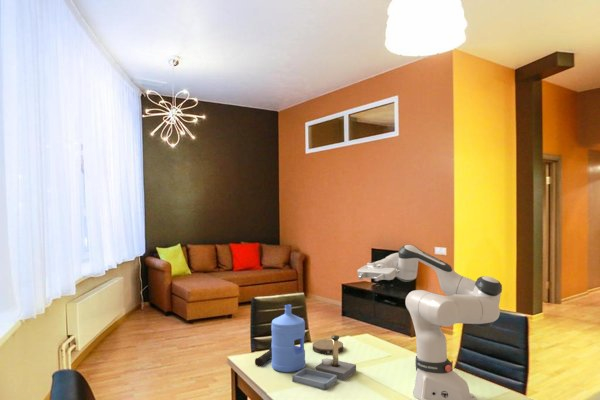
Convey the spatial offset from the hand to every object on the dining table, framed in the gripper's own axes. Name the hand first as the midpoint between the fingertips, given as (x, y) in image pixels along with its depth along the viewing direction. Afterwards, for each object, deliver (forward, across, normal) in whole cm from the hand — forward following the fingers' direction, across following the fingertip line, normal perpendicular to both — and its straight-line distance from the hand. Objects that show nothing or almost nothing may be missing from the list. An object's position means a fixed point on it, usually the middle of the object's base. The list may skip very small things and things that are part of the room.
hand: (367, 278), depth 191 cm
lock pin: (+30, +3, -32) cm, 44 cm away
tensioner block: (+30, +3, -32) cm, 44 cm away
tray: (+43, +3, -29) cm, 52 cm away
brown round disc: (+10, +27, -37) cm, 47 cm away
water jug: (+40, +24, -30) cm, 55 cm away
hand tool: (+41, +38, -29) cm, 63 cm away
